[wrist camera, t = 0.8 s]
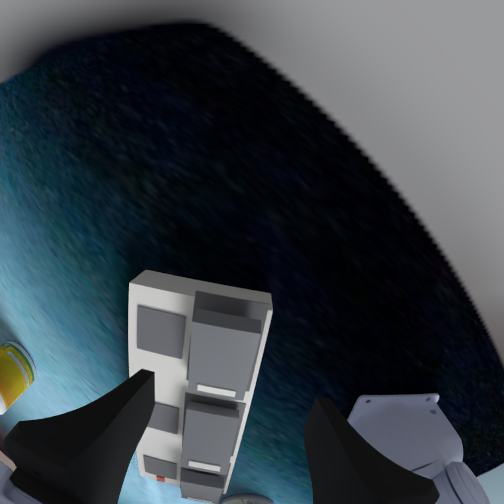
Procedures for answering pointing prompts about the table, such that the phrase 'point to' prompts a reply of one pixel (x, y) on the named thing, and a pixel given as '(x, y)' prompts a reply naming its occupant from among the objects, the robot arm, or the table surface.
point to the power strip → (182, 361)
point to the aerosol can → (246, 499)
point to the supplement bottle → (14, 373)
